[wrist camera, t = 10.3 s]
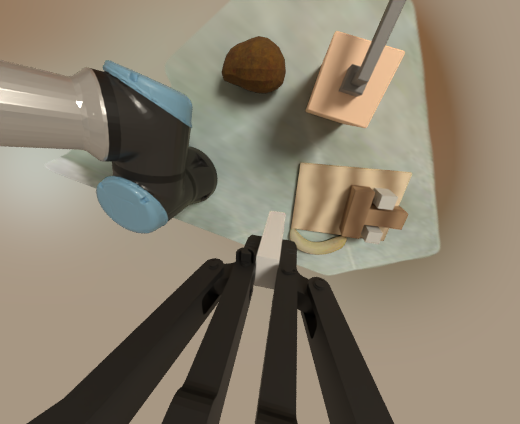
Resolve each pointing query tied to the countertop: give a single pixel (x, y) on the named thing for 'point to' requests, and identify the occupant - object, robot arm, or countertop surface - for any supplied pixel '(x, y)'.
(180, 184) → the robot arm
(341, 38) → the pump bottle
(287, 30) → the countertop surface
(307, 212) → the board
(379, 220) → the tee
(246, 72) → the potato
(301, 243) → the fruit
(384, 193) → the posts
